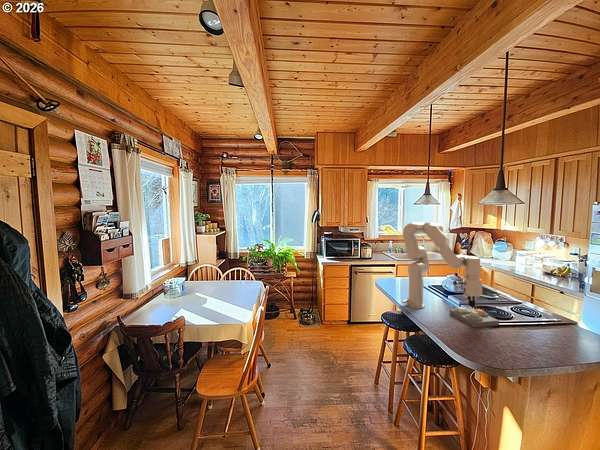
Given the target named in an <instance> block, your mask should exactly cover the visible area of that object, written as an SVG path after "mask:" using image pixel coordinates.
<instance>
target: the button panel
mask: <svg viewBox="0 0 600 450" xmlns="http://www.w3.org/2000/svg"><path fill="white" fill-rule="evenodd" d="M476 309H477V308H476ZM476 309H475V307H470V308H466V312H461V311H459V310H458V307H457V308H456V307H455V308H454V309H449V315H451V316H452V317H454V318H456V319H458V320H460V321H462V322H463V323H465V324H467V325H469V326H471V327H472V328H483V327H496V326H497V327H499V326H500V320H498V319H496V318H495V317H492V316H490V315H489V313H487V312H485V311H484V314H478V318H474V317H471V316H470V311H475V312H476ZM498 325H499V326H498Z"/></svg>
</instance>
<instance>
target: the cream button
mask: <svg viewBox="0 0 600 450" xmlns="http://www.w3.org/2000/svg"><path fill="white" fill-rule="evenodd" d="M457 308H458V310H459V311H461V312H466V309H467V308H465V307H462V306H459V307H457Z"/></svg>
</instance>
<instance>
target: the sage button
mask: <svg viewBox="0 0 600 450" xmlns="http://www.w3.org/2000/svg"><path fill="white" fill-rule="evenodd" d="M470 316H471V317H474V318H478V312H475V311H470Z"/></svg>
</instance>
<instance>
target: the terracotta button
mask: <svg viewBox="0 0 600 450" xmlns="http://www.w3.org/2000/svg"><path fill="white" fill-rule="evenodd" d="M476 312H478V314H484V312H485V311H484V310H483V309H479V308H476Z"/></svg>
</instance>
